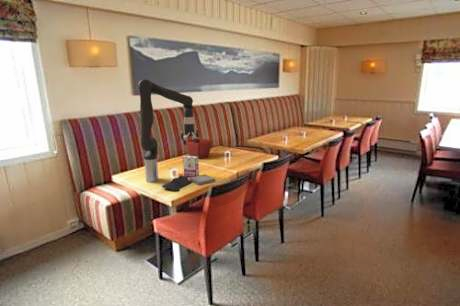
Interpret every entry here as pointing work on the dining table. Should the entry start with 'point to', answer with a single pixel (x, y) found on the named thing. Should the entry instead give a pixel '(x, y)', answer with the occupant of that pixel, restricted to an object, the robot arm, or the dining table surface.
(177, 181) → the dark slate chunk
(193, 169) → the candy bar box
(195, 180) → the slate board
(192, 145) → the plant pot
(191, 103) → the robot arm
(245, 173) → the dining table surface
